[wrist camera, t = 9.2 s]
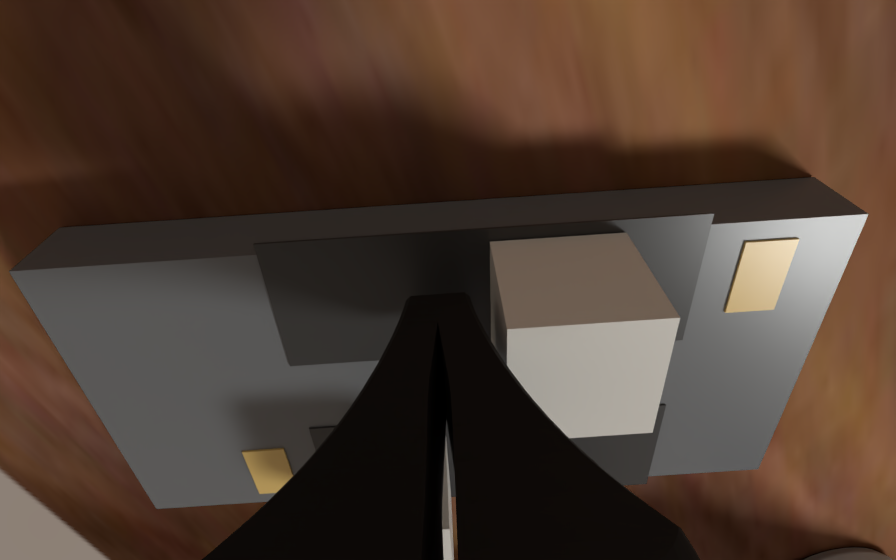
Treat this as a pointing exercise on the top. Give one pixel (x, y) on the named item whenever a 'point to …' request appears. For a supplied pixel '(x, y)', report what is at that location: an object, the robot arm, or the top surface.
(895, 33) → the top surface
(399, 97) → the top surface
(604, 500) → the robot arm
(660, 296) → the switch tab
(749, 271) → the switch panel
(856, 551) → the energy drink
